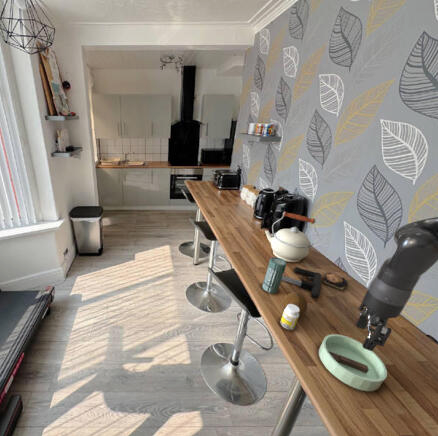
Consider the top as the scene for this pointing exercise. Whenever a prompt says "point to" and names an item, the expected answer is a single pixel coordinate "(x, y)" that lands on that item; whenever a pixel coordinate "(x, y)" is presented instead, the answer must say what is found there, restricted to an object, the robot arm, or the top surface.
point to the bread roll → (335, 281)
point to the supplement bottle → (290, 316)
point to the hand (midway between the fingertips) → (363, 337)
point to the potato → (296, 302)
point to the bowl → (356, 353)
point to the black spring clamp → (307, 285)
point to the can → (274, 275)
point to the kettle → (291, 240)
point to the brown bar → (349, 362)
